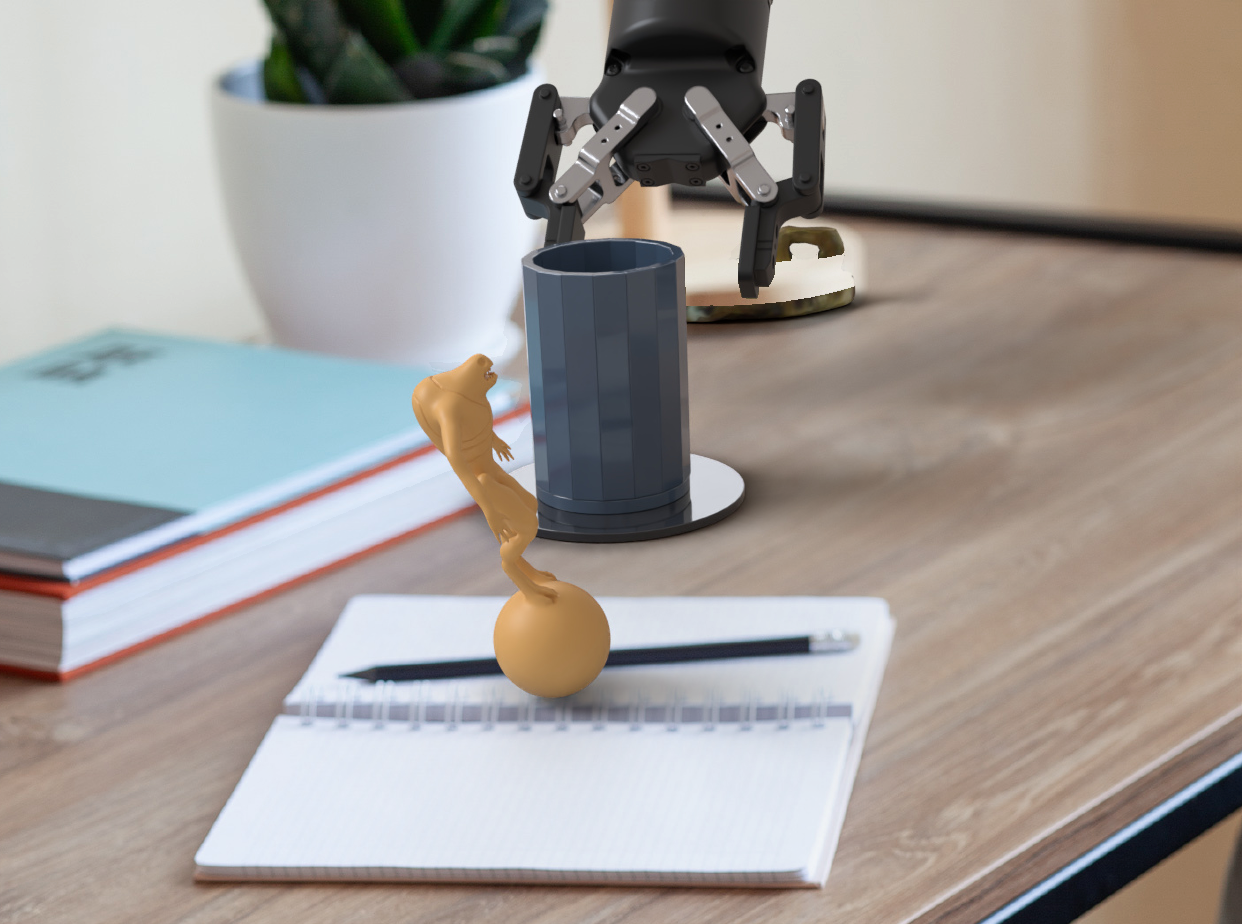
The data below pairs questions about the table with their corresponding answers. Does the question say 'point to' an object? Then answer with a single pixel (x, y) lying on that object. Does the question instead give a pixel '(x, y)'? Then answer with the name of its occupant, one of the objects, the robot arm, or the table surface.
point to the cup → (608, 374)
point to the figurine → (513, 542)
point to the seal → (828, 247)
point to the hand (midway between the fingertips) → (655, 289)
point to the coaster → (702, 505)
